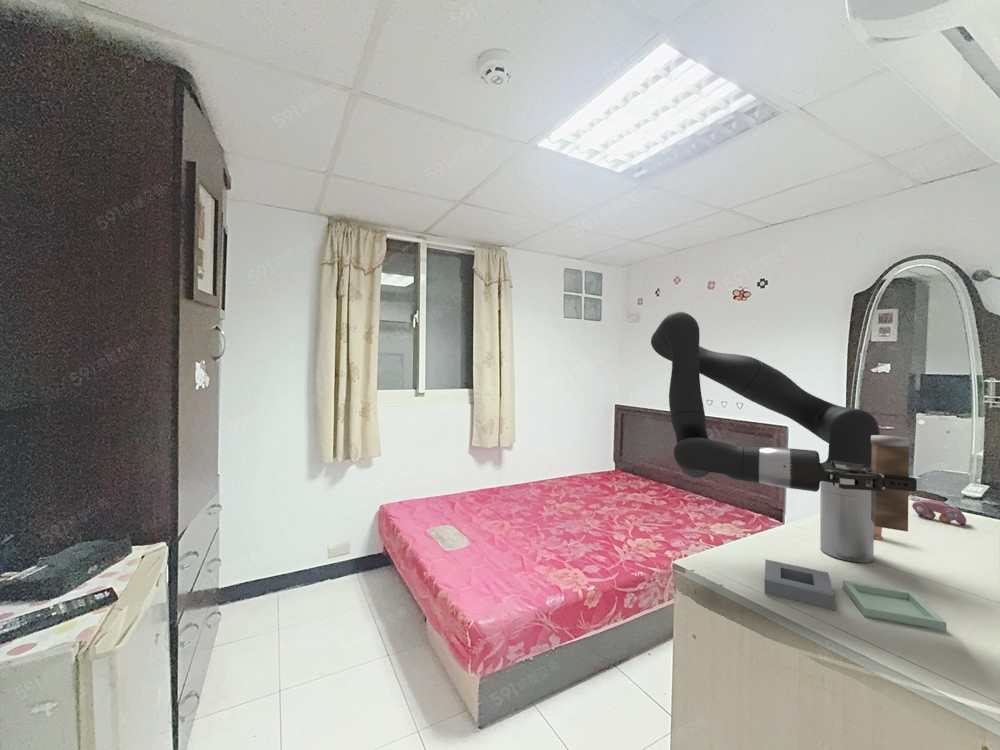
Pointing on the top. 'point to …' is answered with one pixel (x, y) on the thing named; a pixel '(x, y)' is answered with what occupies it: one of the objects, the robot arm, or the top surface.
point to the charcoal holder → (799, 584)
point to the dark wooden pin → (888, 503)
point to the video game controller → (933, 506)
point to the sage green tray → (893, 606)
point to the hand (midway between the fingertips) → (911, 481)
